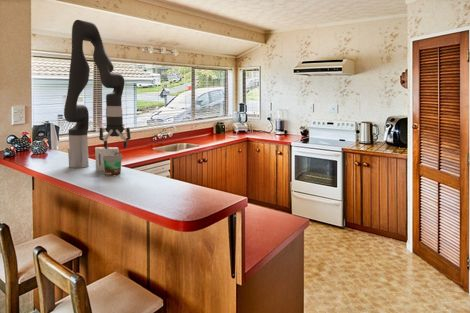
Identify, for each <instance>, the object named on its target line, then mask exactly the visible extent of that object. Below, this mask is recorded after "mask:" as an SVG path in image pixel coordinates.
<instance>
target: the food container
mask: <svg viewBox="0 0 470 313" xmlns="http://www.w3.org/2000/svg"><path fill="white" fill-rule="evenodd" d="M122 159H123V155H122V153H121V152H118V153H116V154H115V155H109V156H103V160H104V169H105V171H104V176H105V177H114V176H113V175H116V176H119V174H120V175H121V174H122Z"/></svg>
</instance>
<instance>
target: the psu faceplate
mask: <svg viewBox="0 0 470 313" xmlns="http://www.w3.org/2000/svg"><path fill="white" fill-rule="evenodd" d="M94 150H95V172H105V169H104V160H103V156H109V155H115V154H116V153H119V147H108V149H105V148H104V147H101V146H99V147H97V146H96V147H95V148H94Z"/></svg>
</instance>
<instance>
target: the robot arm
mask: <svg viewBox="0 0 470 313" xmlns="http://www.w3.org/2000/svg"><path fill="white" fill-rule="evenodd" d="M84 41H86V42H90V43H91V45H92V46H93V49H94V50H93V54H92V58H93V62H94V64H95V66H96V67H97V70H98V73H99V78H100V82H101V84H102V85H103V87H105V88H106V89H113V90H112V92H111V93H107V94H106V95H105V104H106V105H105V106H106V109H105V116H106V120H105V121H106V125H105V126H106V127H100V128H99V140H100V141H102V142H103V148H105V149H108V148H109V147H108V139H109V138H110V137H120V138H121V139H122V140H123V141H122V142H123V149H124V150H125V149H126V148H127V147H128V141H129V140H131V128H130V127H124V124H123V123H124V121H123V120H124V119H123V107H122V106H123V105H122V97H123V91H124V88H125V85H126V84H125V83H126V82H125V77H124V76H123V75H122V74H120V73H116V72H115V73H113V71H114V63H112V61H111V58H110V57H109V55H108V53H107V51H106V49H105V45H104V43H103V40H102V36H101V33H100V31H99V29H98V27H97V25H96V24H95V23H93V22H90V21H87V20H86V21H85V20H82V19H76V20H74V21H73V23H72V27H71V53H70V54H71V56H70V64H69V74H68V87H67V93H66V97H65V98H66V99H65V104H64V108H63V117H64V120H65V121H66V122H68V123H75V125H74V126H73V127H71V128H69V129H68V148H69V149H68V150H67V152H68V153H67V156H68V168H75V169H80V168H87V167H89V166H90V164H89V142H88V141H89V140H88V139H89V138H88V131H89V125H90V123H89V121H90V120H89V118H90V117H89V116H90V114H89V113H90V112H89V110H88V107H87V106H86V105H85V104H78V100H79V97H80V95H81V94H82V91H83V90H84V89H85V88H86V86H87V85H88V83H89V78H90V71H91V70H90V68H91V67H90V65H89V62H88V60H87V58H86V55H85V54H84V49H83V47H84V45H83V44H84ZM105 131H106V133H107V134H106V135H105V137H104V132H105ZM123 132H125V133H126V136H125V135H124V134H123Z"/></svg>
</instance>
